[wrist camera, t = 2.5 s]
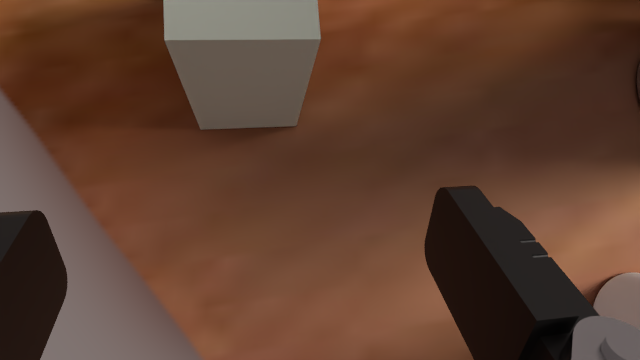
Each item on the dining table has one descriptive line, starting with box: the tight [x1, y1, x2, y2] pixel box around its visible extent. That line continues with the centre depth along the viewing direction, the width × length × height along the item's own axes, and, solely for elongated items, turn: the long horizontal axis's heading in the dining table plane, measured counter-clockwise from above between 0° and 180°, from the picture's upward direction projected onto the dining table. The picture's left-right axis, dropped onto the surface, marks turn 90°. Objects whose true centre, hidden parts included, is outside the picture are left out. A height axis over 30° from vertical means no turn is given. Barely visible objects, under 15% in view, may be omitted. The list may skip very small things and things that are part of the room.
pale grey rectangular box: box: [163, 0, 321, 130], centre depth 21 cm, size 8×5×10 cm, turn 5°
